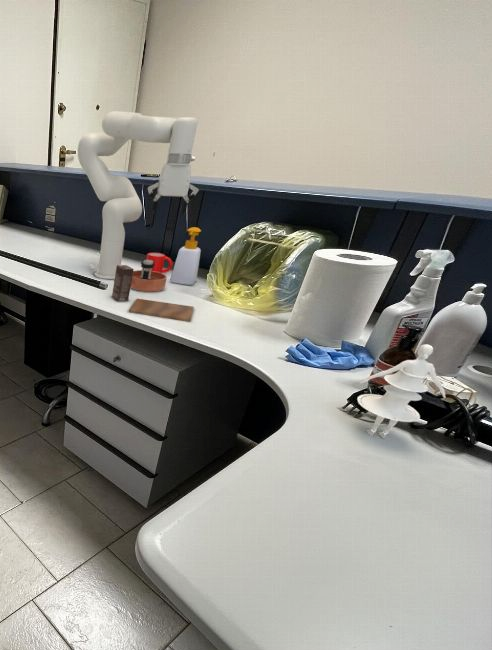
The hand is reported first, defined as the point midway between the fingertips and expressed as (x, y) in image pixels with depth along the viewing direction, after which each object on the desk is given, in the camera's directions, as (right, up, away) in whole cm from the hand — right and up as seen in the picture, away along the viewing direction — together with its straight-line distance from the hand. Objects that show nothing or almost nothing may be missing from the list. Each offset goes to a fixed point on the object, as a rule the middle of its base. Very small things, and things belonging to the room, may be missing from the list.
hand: (168, 213), depth 148 cm
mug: (+10, -11, +39) cm, 42 cm away
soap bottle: (+15, -20, +24) cm, 35 cm away
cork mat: (-4, -36, -5) cm, 37 cm away
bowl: (-2, -23, +19) cm, 29 cm away
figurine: (+17, -73, -66) cm, 100 cm away
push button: (-2, -22, +19) cm, 29 cm away
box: (-16, -30, +5) cm, 35 cm away
